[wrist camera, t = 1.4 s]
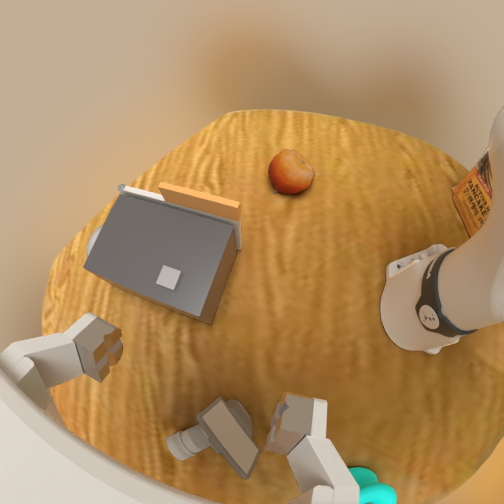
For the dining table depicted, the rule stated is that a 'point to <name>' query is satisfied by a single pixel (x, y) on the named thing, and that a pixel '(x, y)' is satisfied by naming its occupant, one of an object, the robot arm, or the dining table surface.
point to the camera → (220, 436)
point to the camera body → (164, 256)
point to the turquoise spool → (372, 488)
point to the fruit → (290, 172)
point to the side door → (193, 204)
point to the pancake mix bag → (475, 195)
